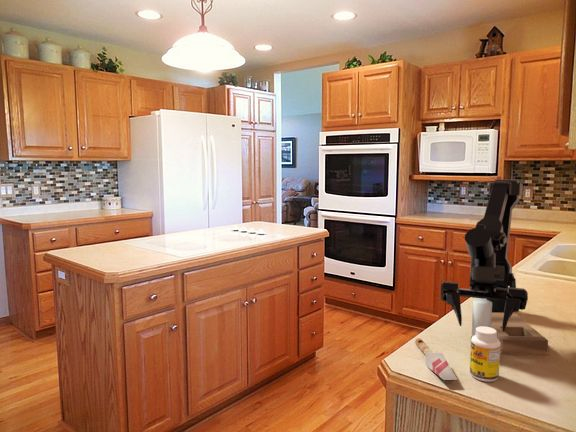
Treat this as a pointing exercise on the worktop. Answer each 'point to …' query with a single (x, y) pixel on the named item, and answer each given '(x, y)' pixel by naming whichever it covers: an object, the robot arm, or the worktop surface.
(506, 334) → the brown holed block
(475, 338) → the supplement bottle
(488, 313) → the peg
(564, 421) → the worktop surface
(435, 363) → the paintbrush
